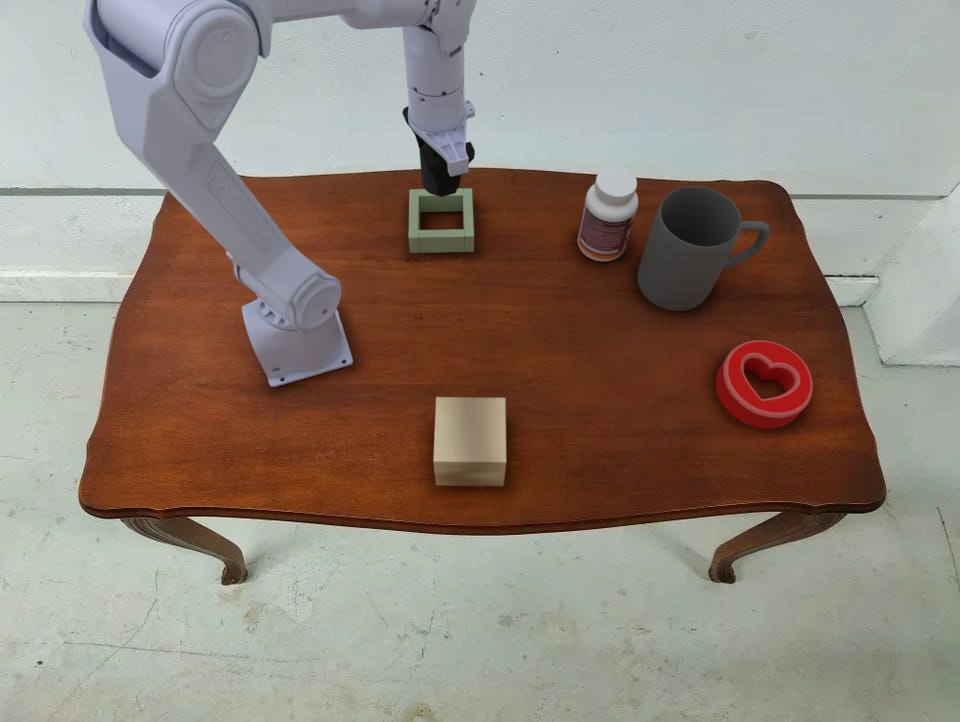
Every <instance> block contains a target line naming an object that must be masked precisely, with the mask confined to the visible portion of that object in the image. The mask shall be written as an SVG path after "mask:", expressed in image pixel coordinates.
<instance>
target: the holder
mask: <svg viewBox="0 0 960 722" xmlns="http://www.w3.org/2000/svg"><path fill="white" fill-rule="evenodd" d="M408 194H409V195H408V196H409V197H408V245H409V253H410V254H425V253H426V254H433V253H474V252H475V227H474V225H475V223H474V222H475V221H474V201H473V200H474V199H473V198H474V197H473V188H468V187H467V188H465V187H464V188H463V187H462V188H460V187H459V188H458V189H457V191H456V193H455V194H451V195H447V196H443V197H439V196H436V195H433V194H430V193H429V192H427V191H426V190H425V189H424V188H417V189H412V188H411V189H409V193H408ZM442 212H443V213H445V212H446V213H448V212H449V213H450V212H451V213H452V212H455V213H456V212H462V218H463V220H462V222H463V228H461V229H460V228H459V229H455V228H453V229H421V213H442Z"/></svg>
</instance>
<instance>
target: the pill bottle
mask: <svg viewBox="0 0 960 722" xmlns="http://www.w3.org/2000/svg"><path fill="white" fill-rule="evenodd" d="M637 187H638V181H637V178H636V176H635V175H634V173H633V172H631V171H630V170H628V169H626V168H624V167H621V166H608V167H606V168H603V169H602V170H600V171H599V172H598V173H597V175H596V178H595V181H594V183H593V184H592V185H591V186H590V187H589V189H588V190H587V192H586V195H585V198H584V203H583V208H582V209H583V210H582V215H581V219H580V224H579V229H578V233H577V246H578V248H579V250H580V251H581V253H582V254H583V255H584V256H585V257H587V258H588V259H590V260H593V261H596V262H603V263H605V262H612V261H614V260H617V259H618V258H620V257H621V256H622V255H623V254H624V252H625V250H626V248H627V245H628V241H629V238H630V234H631V231H632V227H633V224H634V220H635V217H636V214H637V210H638V206H639V196H638V194H637V192H636V191H637Z"/></svg>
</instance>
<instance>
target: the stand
mask: <svg viewBox="0 0 960 722" xmlns="http://www.w3.org/2000/svg"><path fill="white" fill-rule="evenodd" d="M506 404H507V403H506V397H472V396H471V397H470V396H469V397H467V396H463V397H461V396H436V397H435V413H434V417H435V418H434V437H433V461H432V463H433V471H434V480H435V486H437V487H438V486H439V487H440V486H443V487H445V486H446V487H504V484H505V478H506V469H507V408H506V407H507V405H506Z"/></svg>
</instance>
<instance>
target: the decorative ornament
mask: <svg viewBox="0 0 960 722" xmlns="http://www.w3.org/2000/svg"><path fill="white" fill-rule="evenodd" d="M745 371H749V372H752V373H753V374H755V375H756V376H757V377H758V378H759V379H760V381H761V382H763V381H768V380H770V381H771V380H772V381H776V382H778V383H779V384H780V385H782V387H783V390H784V393H782V394H779V395H777V396H773V397H768V398H761V397H760V396H759V395H758V393H757V392H756V390H755V389H754V387H752V385H751V384H750V382H749V380H748V379H747V376H746V374H745ZM813 383H814V382H813V377H812V375H811V371H810V370H809V368H808V366H807V364H806V363H805V361H804V360H803V359H802V358H801V357H800V356H799V355H798V354H797V353H796V352H794V351H793V350H792V349H790V348H788V347H786V346H784V345H782V344H780V343H777V342H774V341H769V340H761V339H759V340H758V339H755V340H749V341H745V342H742V343H741V344H738V345H737V346H735V347H734V348H733V349H732V350H730V352H729V353H728V354H727V355H726V357H725V359H724V360H723V362H722V363H721V365H720V367H719V369H718V370H717V373H716V376H715V388H716V389H715V390H716V393H717V397H718V399H719V402H720V403H721V404H722V406H723V407H724V409H725V410H726V411H727V412H728V413H729V414H730V415H731V416H733V417H734V418H735V419H736V420H738V421H739V422H740V423H743V424H744V425H746V426H749V427H753V428H757V429H764V430H766V429H767V430H770V429H771V430H772V429H778V428H783V427H785V426H786V425H788V424H790V423H792V422H793V421H794V420H795V419H796V418H797V417H798V416H799V415H800V414H801V413H802V412H803V411H804V410H805V409H806V407H807V406H808V405H809V403H810V401H811V399H812V396H813V390H814V384H813Z"/></svg>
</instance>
